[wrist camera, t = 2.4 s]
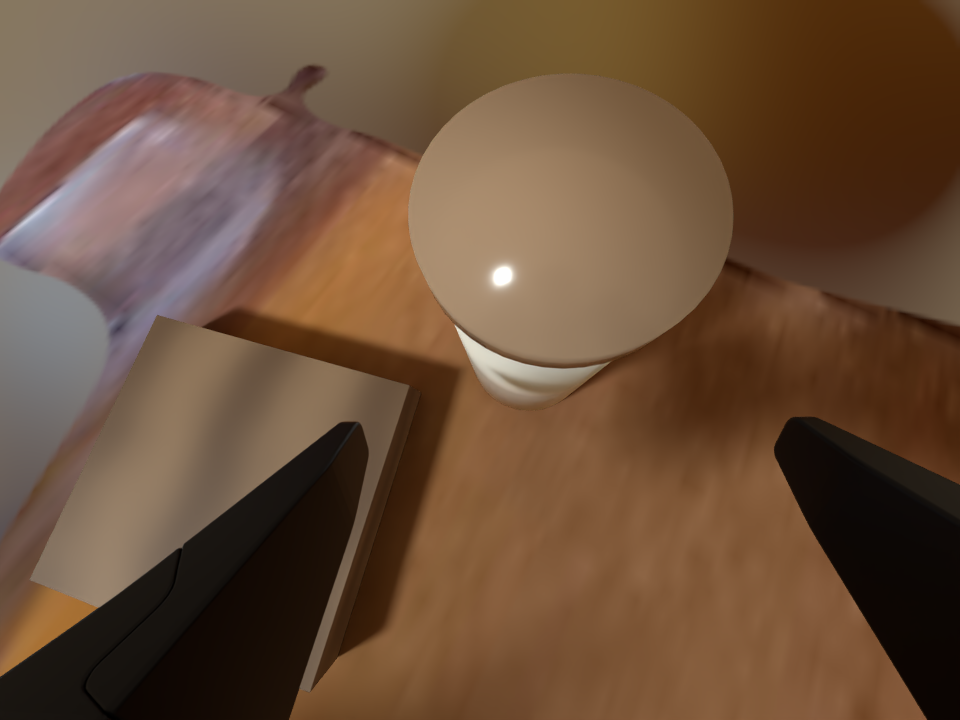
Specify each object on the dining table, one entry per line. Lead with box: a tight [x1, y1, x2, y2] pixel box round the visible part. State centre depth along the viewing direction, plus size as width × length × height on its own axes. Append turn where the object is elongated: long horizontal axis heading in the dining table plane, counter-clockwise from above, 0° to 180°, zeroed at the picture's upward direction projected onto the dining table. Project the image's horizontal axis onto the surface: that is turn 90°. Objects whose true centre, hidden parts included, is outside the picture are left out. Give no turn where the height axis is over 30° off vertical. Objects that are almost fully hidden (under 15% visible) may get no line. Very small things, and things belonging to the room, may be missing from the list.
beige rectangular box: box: [30, 315, 421, 692], centre depth 18 cm, size 14×13×2 cm
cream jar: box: [408, 74, 734, 411], centre depth 14 cm, size 6×6×13 cm
